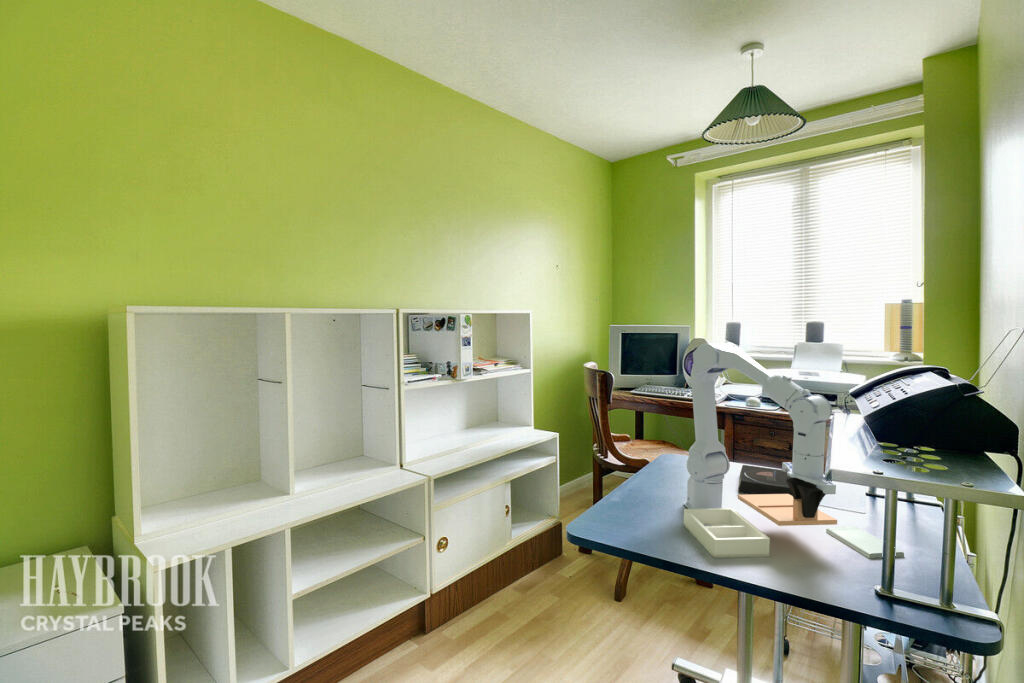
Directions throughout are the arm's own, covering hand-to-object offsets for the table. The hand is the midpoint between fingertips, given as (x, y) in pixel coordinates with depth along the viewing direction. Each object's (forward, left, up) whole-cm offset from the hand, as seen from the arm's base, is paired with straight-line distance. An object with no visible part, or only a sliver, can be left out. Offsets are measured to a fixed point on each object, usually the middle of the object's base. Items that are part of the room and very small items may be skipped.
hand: (805, 514), depth 106 cm
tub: (-7, -14, -9) cm, 18 cm away
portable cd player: (-38, +16, -10) cm, 43 cm away
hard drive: (-4, +17, -10) cm, 20 cm away
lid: (-7, 0, -2) cm, 8 cm away
